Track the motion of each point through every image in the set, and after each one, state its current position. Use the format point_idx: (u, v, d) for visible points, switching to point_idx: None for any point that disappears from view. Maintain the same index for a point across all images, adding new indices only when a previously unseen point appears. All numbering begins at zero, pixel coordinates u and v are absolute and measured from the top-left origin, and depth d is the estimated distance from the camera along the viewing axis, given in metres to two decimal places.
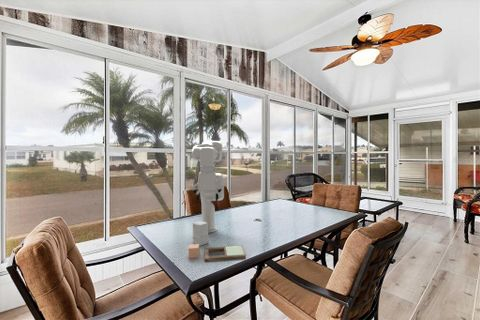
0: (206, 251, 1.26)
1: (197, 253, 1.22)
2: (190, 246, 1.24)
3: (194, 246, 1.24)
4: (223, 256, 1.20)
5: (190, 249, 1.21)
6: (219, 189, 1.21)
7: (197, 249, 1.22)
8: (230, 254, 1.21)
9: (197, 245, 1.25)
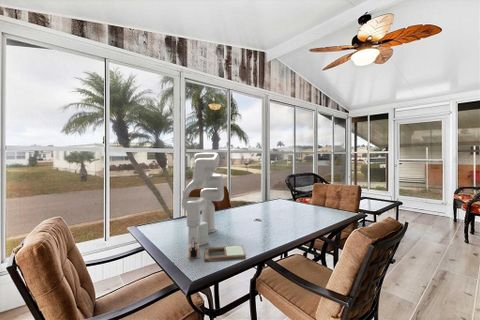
0: (206, 251, 1.26)
1: (197, 253, 1.22)
2: (190, 246, 1.24)
3: (194, 246, 1.24)
4: (223, 256, 1.20)
5: (190, 249, 1.21)
6: None
7: (197, 249, 1.22)
8: (230, 254, 1.21)
9: (197, 245, 1.25)
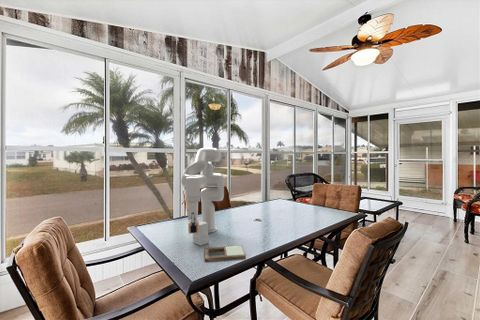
0: (206, 251, 1.26)
1: (197, 228, 1.22)
2: (190, 222, 1.24)
3: None
4: (223, 256, 1.20)
5: (190, 224, 1.21)
6: None
7: (197, 225, 1.22)
8: (230, 254, 1.21)
9: (197, 221, 1.25)
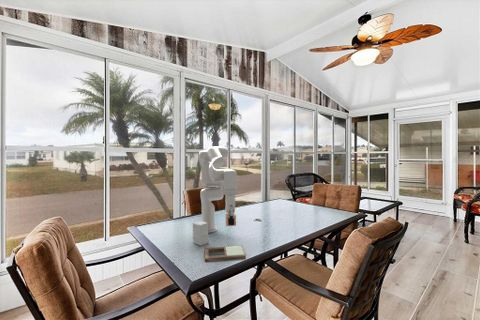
0: (206, 251, 1.26)
1: (234, 221, 1.23)
2: (227, 215, 1.25)
3: None
4: (223, 256, 1.20)
5: (228, 217, 1.23)
6: None
7: (235, 217, 1.23)
8: (230, 254, 1.21)
9: None
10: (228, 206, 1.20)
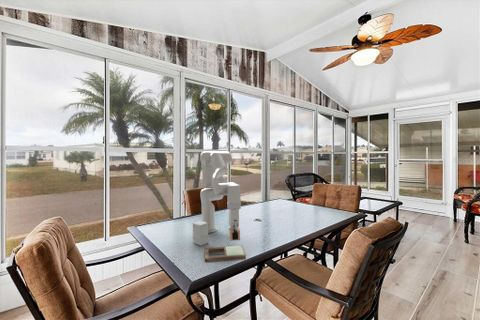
0: (206, 251, 1.26)
1: (238, 235, 1.24)
2: (231, 229, 1.26)
3: None
4: (223, 256, 1.20)
5: (232, 231, 1.23)
6: None
7: (239, 232, 1.24)
8: (230, 254, 1.21)
9: None
10: (232, 221, 1.21)
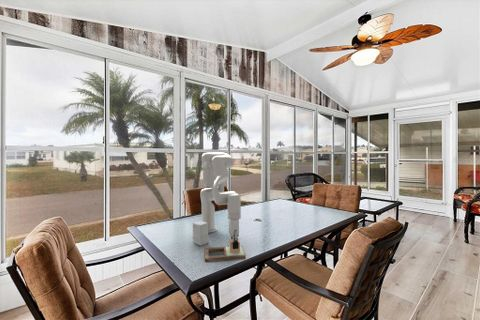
0: (206, 251, 1.26)
1: None
2: (231, 240, 1.26)
3: None
4: (223, 256, 1.20)
5: (231, 243, 1.24)
6: None
7: (238, 244, 1.24)
8: (230, 254, 1.21)
9: None
10: (232, 231, 1.21)
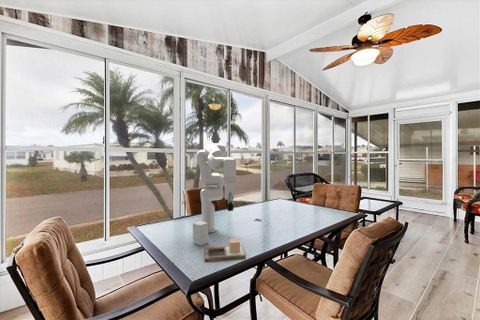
0: (206, 251, 1.26)
1: (238, 247, 1.24)
2: (231, 240, 1.26)
3: (235, 240, 1.26)
4: (223, 256, 1.20)
5: (231, 243, 1.24)
6: None
7: (238, 244, 1.24)
8: (230, 254, 1.21)
9: (237, 240, 1.27)
10: (227, 193, 1.24)
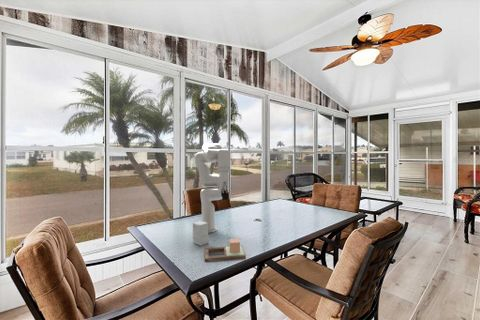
0: (206, 251, 1.26)
1: (238, 247, 1.24)
2: (231, 240, 1.26)
3: (235, 240, 1.26)
4: (223, 256, 1.20)
5: (231, 243, 1.24)
6: None
7: (238, 244, 1.24)
8: (230, 254, 1.21)
9: (237, 240, 1.27)
10: (222, 182, 1.29)
